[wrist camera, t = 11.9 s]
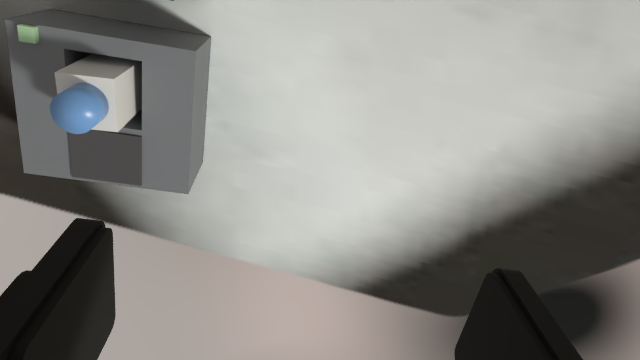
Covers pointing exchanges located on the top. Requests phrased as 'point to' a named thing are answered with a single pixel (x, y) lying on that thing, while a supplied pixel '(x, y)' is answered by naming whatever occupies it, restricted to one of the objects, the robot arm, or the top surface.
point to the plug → (97, 94)
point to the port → (142, 130)
